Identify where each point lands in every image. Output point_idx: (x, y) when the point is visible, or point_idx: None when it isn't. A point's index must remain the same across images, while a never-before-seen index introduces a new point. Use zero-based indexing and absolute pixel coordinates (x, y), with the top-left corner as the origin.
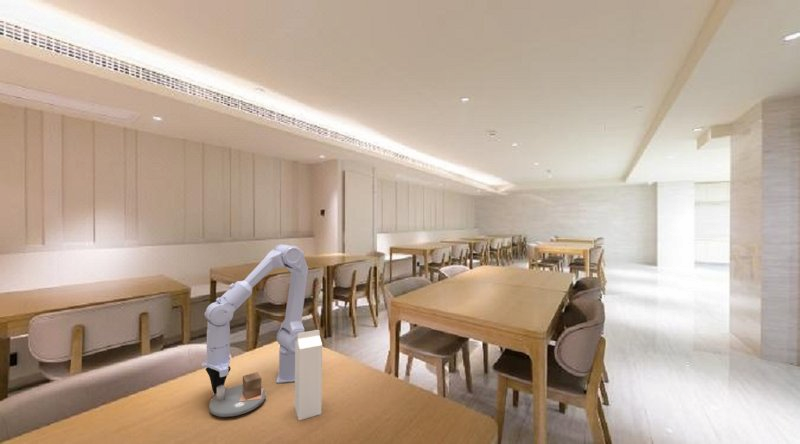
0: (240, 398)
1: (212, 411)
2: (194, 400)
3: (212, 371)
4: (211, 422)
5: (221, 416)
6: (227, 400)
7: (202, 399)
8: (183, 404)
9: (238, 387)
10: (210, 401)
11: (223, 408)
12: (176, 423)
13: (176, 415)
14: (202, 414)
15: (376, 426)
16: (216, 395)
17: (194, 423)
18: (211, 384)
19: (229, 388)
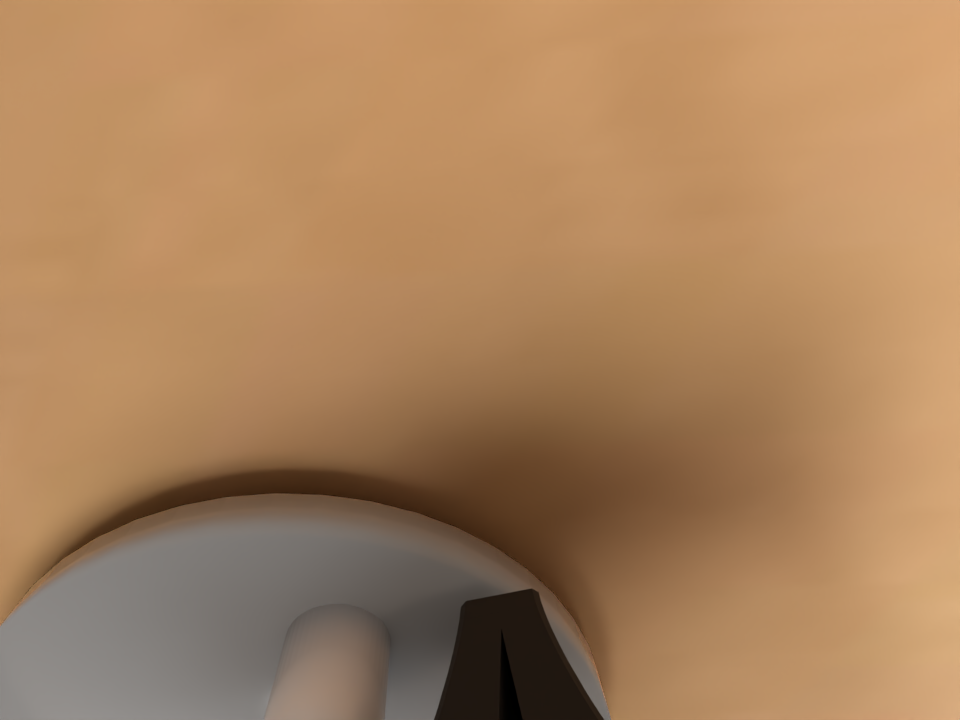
0: None
1: (98, 551)
2: (704, 284)
3: None
4: (18, 495)
5: (8, 615)
6: (263, 704)
7: (663, 379)
8: (681, 142)
9: None
10: (332, 541)
11: (58, 678)
12: (135, 85)
13: (384, 64)
14: (253, 398)
15: None
16: (474, 597)
17: (54, 321)
18: (543, 694)
19: None
